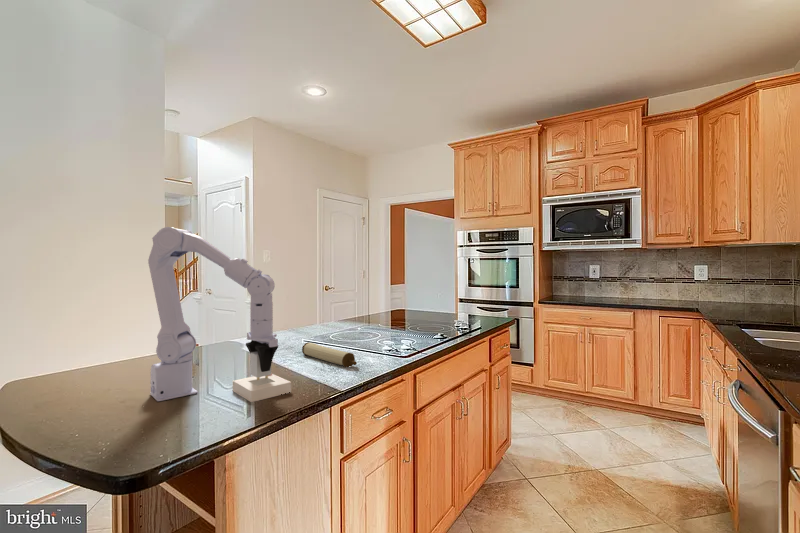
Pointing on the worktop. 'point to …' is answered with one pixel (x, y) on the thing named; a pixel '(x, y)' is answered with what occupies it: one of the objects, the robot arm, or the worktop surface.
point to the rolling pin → (329, 354)
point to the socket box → (261, 387)
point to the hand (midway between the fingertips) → (261, 369)
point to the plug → (257, 366)
